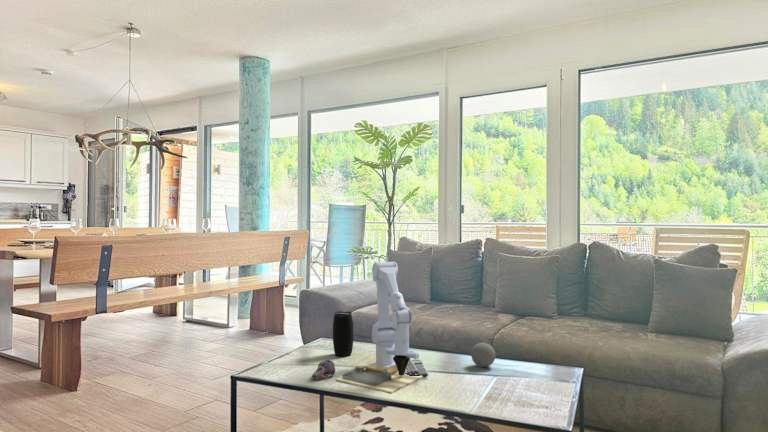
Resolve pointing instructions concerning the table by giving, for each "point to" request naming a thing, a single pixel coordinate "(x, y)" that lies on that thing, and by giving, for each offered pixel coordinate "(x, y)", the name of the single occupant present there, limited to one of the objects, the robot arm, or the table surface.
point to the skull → (324, 370)
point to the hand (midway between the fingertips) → (401, 374)
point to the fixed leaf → (367, 376)
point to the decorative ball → (483, 354)
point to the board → (387, 382)
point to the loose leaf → (382, 369)
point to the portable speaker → (343, 333)
